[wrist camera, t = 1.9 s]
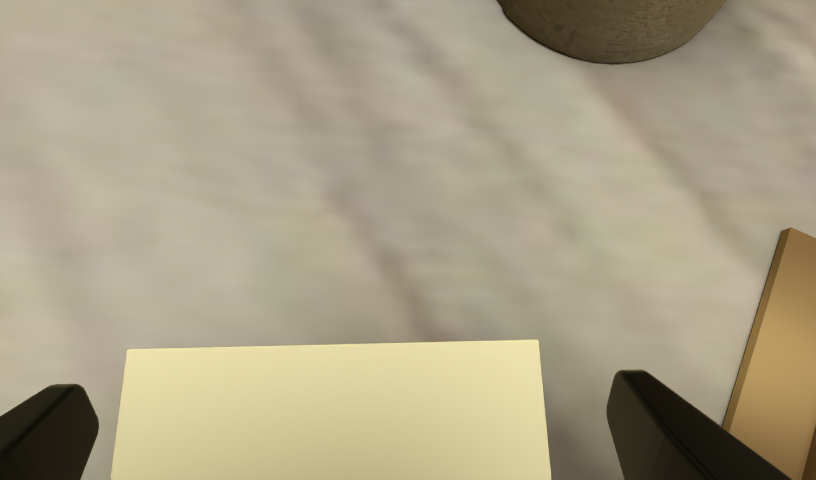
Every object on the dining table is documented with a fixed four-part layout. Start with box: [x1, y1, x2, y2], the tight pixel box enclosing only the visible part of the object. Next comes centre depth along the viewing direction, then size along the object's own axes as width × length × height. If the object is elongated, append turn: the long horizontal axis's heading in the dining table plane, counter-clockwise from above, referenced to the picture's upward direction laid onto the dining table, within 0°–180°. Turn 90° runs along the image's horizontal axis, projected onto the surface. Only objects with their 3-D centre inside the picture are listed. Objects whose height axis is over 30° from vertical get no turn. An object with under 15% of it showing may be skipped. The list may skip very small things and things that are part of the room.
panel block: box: [110, 340, 551, 480], centre depth 10 cm, size 4×5×10 cm
